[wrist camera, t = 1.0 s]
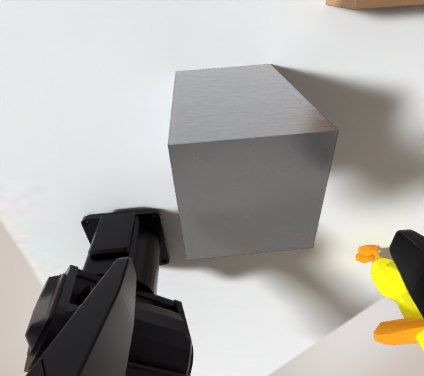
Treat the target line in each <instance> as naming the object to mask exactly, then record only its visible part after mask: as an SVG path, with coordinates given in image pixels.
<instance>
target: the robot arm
mask: <svg viewBox="0 0 424 376" xmlns="http://www.w3.org/2000/svg"><path fill="white" fill-rule="evenodd" d="M152 215H155V217H154V216H152ZM86 221H88V222H90V223H88V222H86ZM81 224H82V226H83V229H84V231H85V233H86V236H87V238H88V240H89V242H90V245H91V246H90V248H89V251H88V256H87V259H86V261H85V264H84V267H83V270H80V269H78V267H76V266H73V265H70V266H69V268H68V269H67V271H66V272H65V274H64V273H63V274H62V275H61V274H60V275H59V276H53V277H49V278H48V280H47V282H46V284H45V286H44V288H43V290H42V293H41V295H40V297H39V299H38V301H37V304H36V306H35V308H34V311H33V314H32V317H31V320H30V323H29V326H28V329H27V331H26V334H25V337H26V339H27V342H28V344H29V348H28V352H27V360H26V364H25V370H24V371H25V372H28V374H27V375H26V376H191V375H190V373H191V369H192V364H193V345H192V340H191V337H190V333H189V329H188V325H187V322H186V318H185V314H184V310H183V306H182V303H181V302H180V301H177V300H174V301H173V300H170V299H167V298H164V297H161V296H158V295H156V293H157V282H158V271H159V265H164V264H168V263H169V260H170V256H169V252H168V247H167V242H166V238H165V233H164V228H163V224H162V219H161V214H160V212H159V211H157V210H146V211H135V212H124V213H113V214H103V215H92V216H85V217H84V218H83V220H82V222H81ZM390 254H391V256H392V258H393V261H394V263H395V265H396V267H397V269H398V271H399V273H400V276H401V278H402V280H403V282H404V284H405V286H406V289H407V291H408V292H409V294H410V296H411V298H412V300H413V302H414V303H415V305H416V307H417V308H418V310H419V312H420V313H421V315H422V317H423V319H424V236H422V235H420V234H419V233H417V232H415V231H413V230H399V231H397V232H396V234H395V236H394V238H393V240H392V243H391V245H390Z"/></svg>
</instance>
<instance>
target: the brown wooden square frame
mask: <svg viewBox="0 0 424 376" xmlns="http://www.w3.org/2000/svg"><path fill="white" fill-rule="evenodd" d="M422 4H424V0H326V5H331V6H337V7H343V8H349V9H367V8H381V7H394V6H408V5H422Z"/></svg>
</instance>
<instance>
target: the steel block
mask: <svg viewBox="0 0 424 376" xmlns="http://www.w3.org/2000/svg"><path fill="white" fill-rule="evenodd" d="M338 131H339V130H338V129H337V128H336V127H335V126H334V125H333V124H332V123H331V122H330V121H328V120H327V119H326V118H325V117H324V116H323V115H322V114H321V113H320V112H319V111H318V110H317V109H316V108H315V107H314V106H313V105H312V104H311V103H310V102H309V101H308V100H307V99H306V98H305V97H304V96H303V95H302V94H301V93H300V92H299V91H298V90H297V89H296V88H295V87H294V86H293V85H291V84H290V83H289V82H288V81H287V80H286V79H285V78H284V77H283V76H282V75H281V74H280V73H279V72H278V71H277V70H276V69H275V68H274V67H273V66H272V65H271V64H264V65H251V66H238V67H226V68H213V69H200V70H187V71H176V72H175V82H174V91H173V101H172V110H171V119H170V129H169V138H168V149H169V155H170V162H171V168H172V174H173V180H174V186H175V192H176V198H177V204H178V211H179V217H180V223H181V229H182V235H183V241H184V247H185V253H186V260H191V259H201V258H212V257H222V256H232V255H243V254H253V253H263V252H274V251H284V250H294V249H305V248H313V246H314V241H315V236H316V232H317V227H318V223H319V218H320V214H321V209H322V204H323V200H324V195H325V191H326V186H327V181H328V177H329V172H330V168H331V163H332V159H333V154H334V149H335V145H336V140H337V136H338Z"/></svg>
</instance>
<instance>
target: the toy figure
mask: <svg viewBox="0 0 424 376" xmlns="http://www.w3.org/2000/svg"><path fill="white" fill-rule="evenodd" d="M378 248H379V247H378V246H370V245H368V246H363V247H360V248H359V249H358V253H359V254H357V255H356V260H357V261H360V262H362V263H366V262H369V261H372V267H371V277H372V281H373V282H374V284H375V285H376V287H377V289H378V290H379V292H380V293H381V295H383V296H386V297H388V298H390V299H392V300H394V301H396V302H397V304H398V306H399V308H400V310H401V312H402V314H403V316H404V318H405V319H399V320H392V321H386V322H381V323H380V325H379V326H378V327H377V329H376V330H375V331H374V338H375V341H378V342H380V343H383V344H388V345H400V344H414V343H419V345H420V346H421V348H422V349H423V351H424V319H423V317H422V315H421V313H420V312H419V310H418V308H417V307H416V305H415V303H414V302H413V300H412V298H411V296H410V294H409V292H408V291H407V289H406V286H405V284H404V282H403V280H402V278H401V276H400V273H399V271H398V269H397V267H396V265H395V263H394V261H393V260H390V259H388V258H381V256H380V255H379V254H378V252H377V251H378ZM375 257H376V258H377V260H376V259H375Z"/></svg>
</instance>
